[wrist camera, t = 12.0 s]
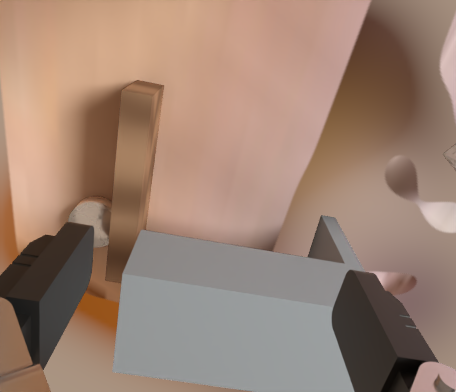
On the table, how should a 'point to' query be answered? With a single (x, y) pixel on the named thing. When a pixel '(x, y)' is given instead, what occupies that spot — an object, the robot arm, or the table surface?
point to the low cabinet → (234, 313)
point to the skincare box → (451, 156)
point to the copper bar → (132, 171)
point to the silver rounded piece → (94, 217)
